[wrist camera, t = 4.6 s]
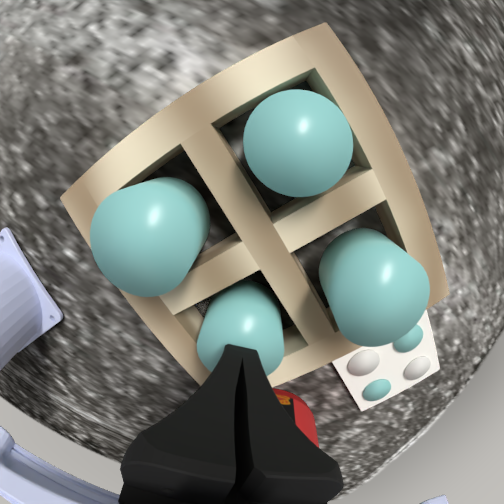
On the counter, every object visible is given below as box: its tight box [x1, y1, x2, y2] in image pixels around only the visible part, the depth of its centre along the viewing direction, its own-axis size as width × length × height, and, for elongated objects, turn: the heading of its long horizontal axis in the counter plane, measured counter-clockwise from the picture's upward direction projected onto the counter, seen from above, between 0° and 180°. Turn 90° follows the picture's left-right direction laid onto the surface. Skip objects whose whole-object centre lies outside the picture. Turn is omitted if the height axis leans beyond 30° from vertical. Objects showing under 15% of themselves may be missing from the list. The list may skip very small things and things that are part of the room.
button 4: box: [243, 89, 353, 197], centre depth 12 cm, size 4×4×4 cm
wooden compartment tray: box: [60, 22, 450, 387], centre depth 14 cm, size 15×15×2 cm
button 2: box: [90, 177, 210, 297], centre depth 11 cm, size 4×4×4 cm
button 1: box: [197, 280, 284, 376], centre depth 15 cm, size 4×4×4 cm
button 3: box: [319, 228, 430, 347], centre depth 12 cm, size 4×4×4 cm
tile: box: [332, 310, 440, 411], centre depth 18 cm, size 7×7×1 cm
